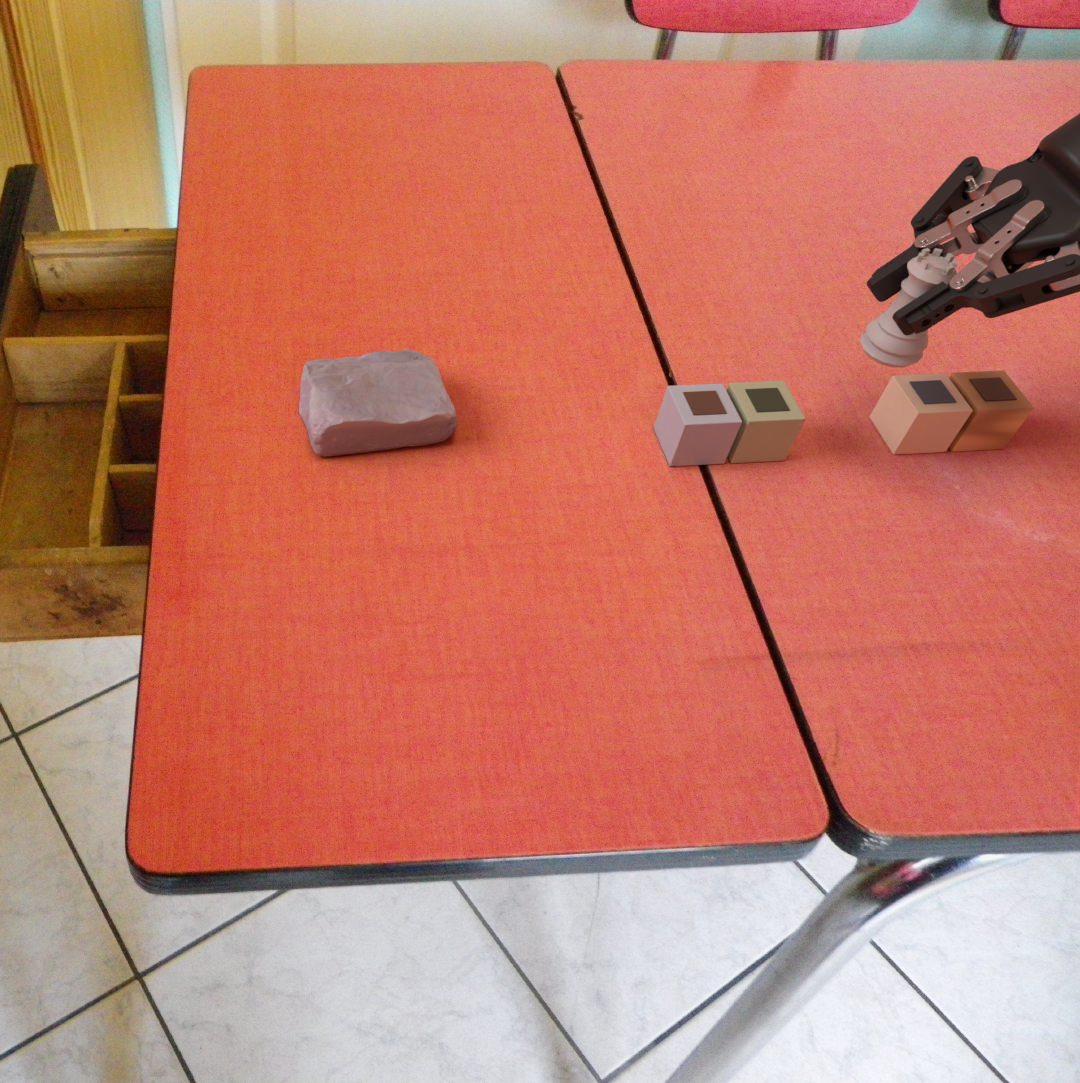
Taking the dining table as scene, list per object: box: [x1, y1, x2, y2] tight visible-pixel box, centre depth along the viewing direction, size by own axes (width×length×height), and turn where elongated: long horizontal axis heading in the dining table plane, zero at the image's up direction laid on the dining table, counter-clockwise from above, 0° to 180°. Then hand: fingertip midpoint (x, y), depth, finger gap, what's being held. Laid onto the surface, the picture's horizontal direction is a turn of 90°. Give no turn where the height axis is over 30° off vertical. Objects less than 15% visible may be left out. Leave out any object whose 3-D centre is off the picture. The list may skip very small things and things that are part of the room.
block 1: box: [653, 382, 742, 467], centre depth 78 cm, size 4×4×5 cm
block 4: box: [948, 369, 1034, 452], centre depth 80 cm, size 4×4×5 cm
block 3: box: [869, 372, 973, 456], centre depth 79 cm, size 4×4×5 cm
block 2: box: [726, 380, 806, 464], centre depth 78 cm, size 4×4×5 cm
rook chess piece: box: [859, 248, 959, 369], centre depth 71 cm, size 4×4×8 cm
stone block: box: [298, 348, 458, 458], centre depth 80 cm, size 12×5×10 cm
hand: (886, 309), depth 71 cm, fingers closed on rook chess piece, 3 cm apart
